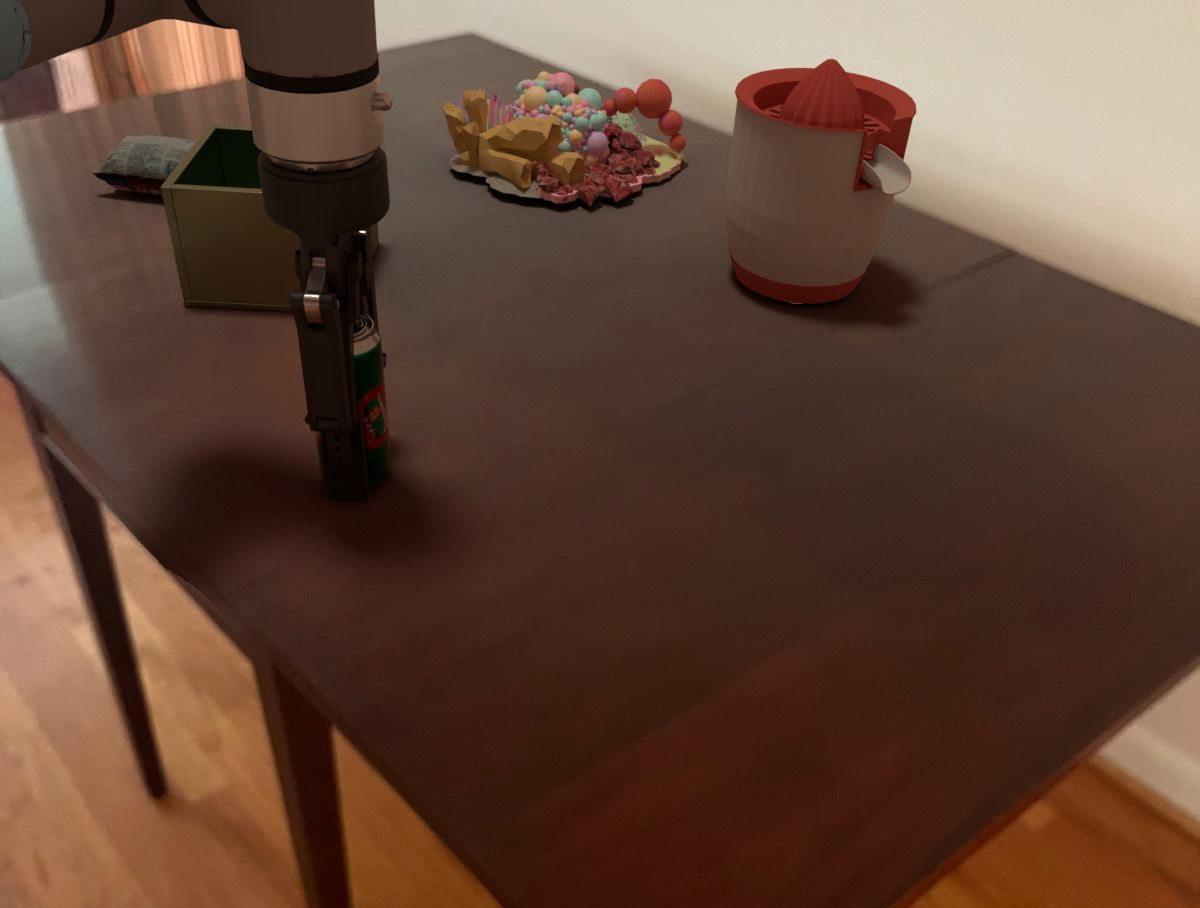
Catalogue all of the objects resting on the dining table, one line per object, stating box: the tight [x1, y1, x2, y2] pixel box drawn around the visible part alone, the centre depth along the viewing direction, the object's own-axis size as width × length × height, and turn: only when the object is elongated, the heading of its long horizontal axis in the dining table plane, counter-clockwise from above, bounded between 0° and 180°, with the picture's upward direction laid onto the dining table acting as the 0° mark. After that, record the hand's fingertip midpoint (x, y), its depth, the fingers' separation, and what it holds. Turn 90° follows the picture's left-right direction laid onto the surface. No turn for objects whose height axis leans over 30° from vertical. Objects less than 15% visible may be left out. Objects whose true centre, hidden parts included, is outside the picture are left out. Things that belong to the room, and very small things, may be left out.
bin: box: [161, 123, 380, 313], centre depth 104 cm, size 15×15×11 cm
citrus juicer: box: [724, 58, 917, 305], centre depth 104 cm, size 16×17×20 cm
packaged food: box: [91, 134, 197, 196], centre depth 119 cm, size 9×12×5 cm
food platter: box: [442, 70, 687, 207], centre depth 127 cm, size 25×24×9 cm
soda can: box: [314, 312, 393, 490], centre depth 80 cm, size 5×5×12 cm
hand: (356, 471), depth 84 cm, fingers closed on soda can, 5 cm apart
